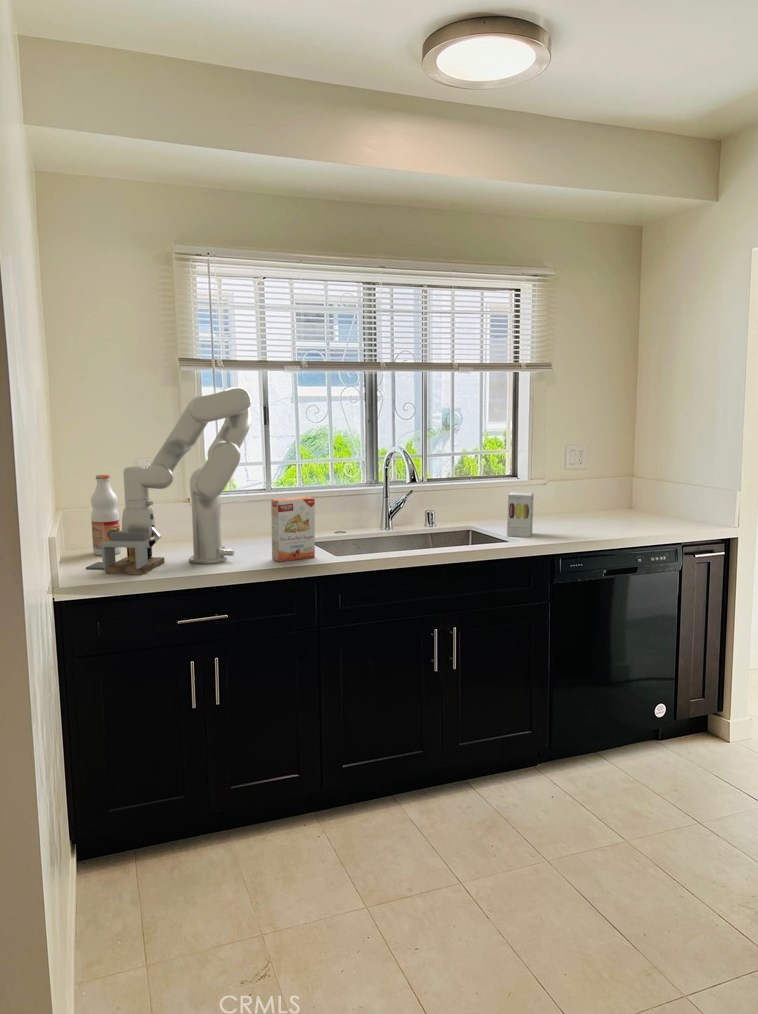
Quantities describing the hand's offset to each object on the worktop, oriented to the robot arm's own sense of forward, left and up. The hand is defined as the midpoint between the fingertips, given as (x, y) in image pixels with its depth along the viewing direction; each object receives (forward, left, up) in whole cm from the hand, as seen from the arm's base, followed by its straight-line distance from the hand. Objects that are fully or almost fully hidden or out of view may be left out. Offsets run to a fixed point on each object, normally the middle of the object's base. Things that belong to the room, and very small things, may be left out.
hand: (139, 558), depth 246 cm
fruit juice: (+20, -19, -3) cm, 28 cm away
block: (0, 0, -3) cm, 3 cm away
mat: (+11, +2, -2) cm, 12 cm away
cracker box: (-48, -16, -3) cm, 51 cm away
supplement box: (-128, -69, -3) cm, 146 cm away
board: (0, +3, -2) cm, 4 cm away
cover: (0, +10, 0) cm, 10 cm away
